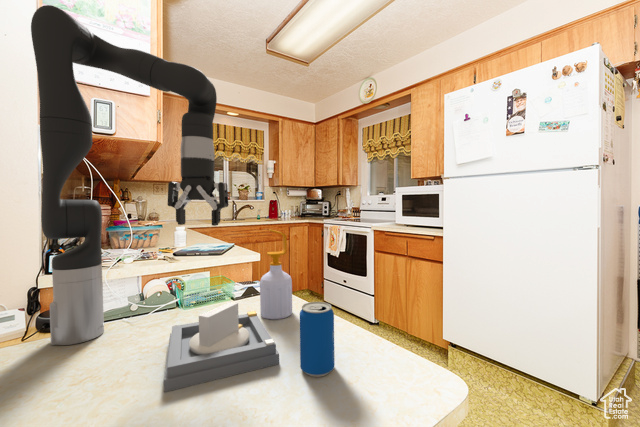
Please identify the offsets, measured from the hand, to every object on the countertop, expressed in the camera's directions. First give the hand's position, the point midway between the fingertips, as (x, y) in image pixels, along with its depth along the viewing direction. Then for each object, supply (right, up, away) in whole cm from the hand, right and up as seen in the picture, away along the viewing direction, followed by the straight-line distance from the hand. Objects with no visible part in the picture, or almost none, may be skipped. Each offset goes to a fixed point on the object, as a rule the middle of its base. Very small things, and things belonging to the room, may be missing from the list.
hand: (198, 224), depth 71 cm
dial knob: (+8, -25, -9) cm, 28 cm away
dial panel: (+8, -27, -9) cm, 29 cm away
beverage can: (+29, -27, -16) cm, 43 cm away
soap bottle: (+17, -26, +13) cm, 34 cm away
